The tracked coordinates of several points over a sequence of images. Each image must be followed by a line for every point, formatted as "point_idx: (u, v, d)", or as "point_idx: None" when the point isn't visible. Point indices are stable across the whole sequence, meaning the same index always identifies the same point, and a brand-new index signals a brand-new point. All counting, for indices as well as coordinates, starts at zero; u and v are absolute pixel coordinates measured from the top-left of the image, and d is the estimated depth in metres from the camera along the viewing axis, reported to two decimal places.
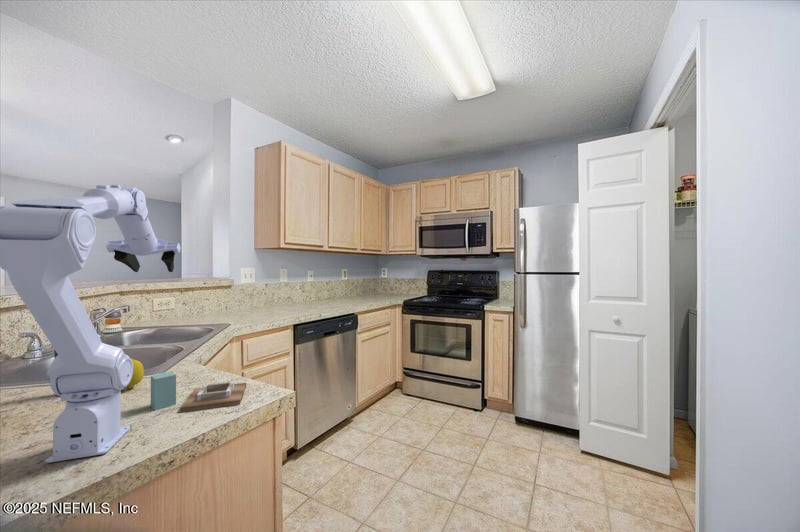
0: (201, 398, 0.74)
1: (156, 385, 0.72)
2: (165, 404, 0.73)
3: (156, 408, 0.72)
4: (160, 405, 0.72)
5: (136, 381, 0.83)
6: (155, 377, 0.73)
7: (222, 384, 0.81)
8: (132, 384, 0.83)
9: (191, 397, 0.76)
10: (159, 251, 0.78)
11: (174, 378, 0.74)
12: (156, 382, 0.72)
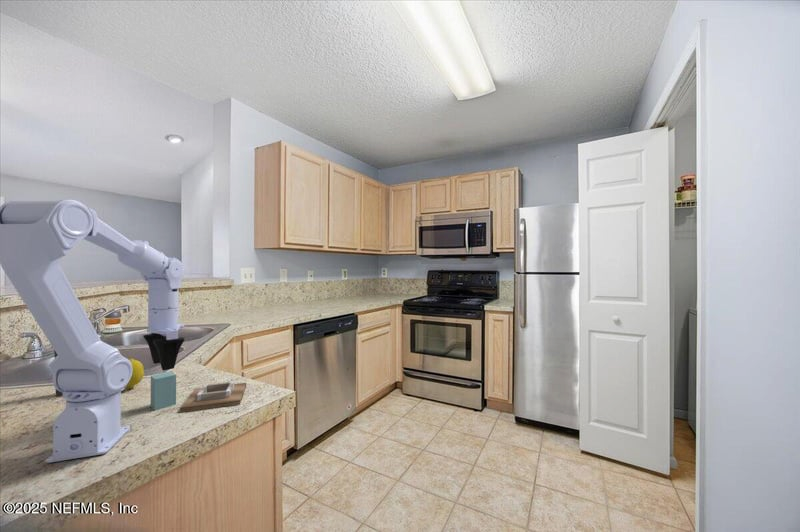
0: (201, 398, 0.74)
1: (156, 385, 0.72)
2: (165, 404, 0.73)
3: (156, 408, 0.72)
4: (160, 405, 0.72)
5: (136, 381, 0.83)
6: (155, 377, 0.73)
7: (222, 384, 0.81)
8: (132, 384, 0.83)
9: (191, 397, 0.76)
10: (157, 331, 0.71)
11: (174, 378, 0.74)
12: (156, 382, 0.72)
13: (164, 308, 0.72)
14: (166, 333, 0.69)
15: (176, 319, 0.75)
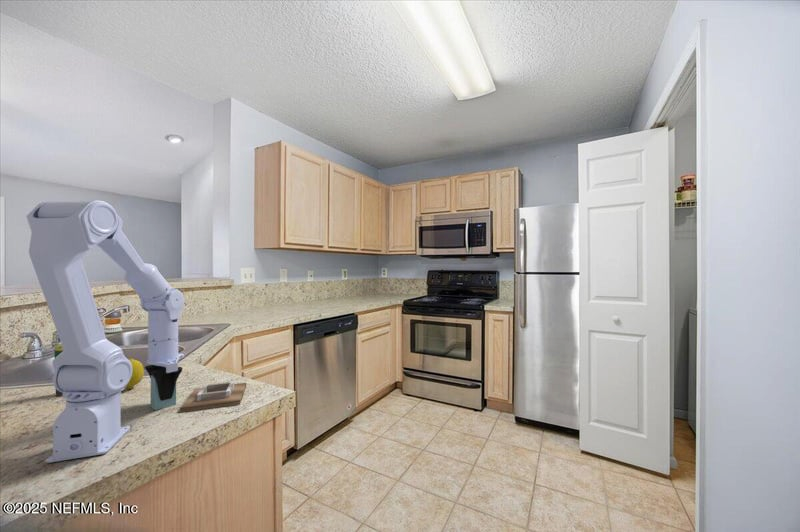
0: (201, 398, 0.74)
1: (156, 385, 0.72)
2: (165, 404, 0.73)
3: (156, 408, 0.72)
4: (160, 405, 0.72)
5: (136, 381, 0.83)
6: None
7: (222, 384, 0.81)
8: (132, 384, 0.83)
9: (191, 397, 0.76)
10: (157, 363, 0.70)
11: None
12: None
13: (164, 339, 0.72)
14: (166, 366, 0.69)
15: (176, 349, 0.75)
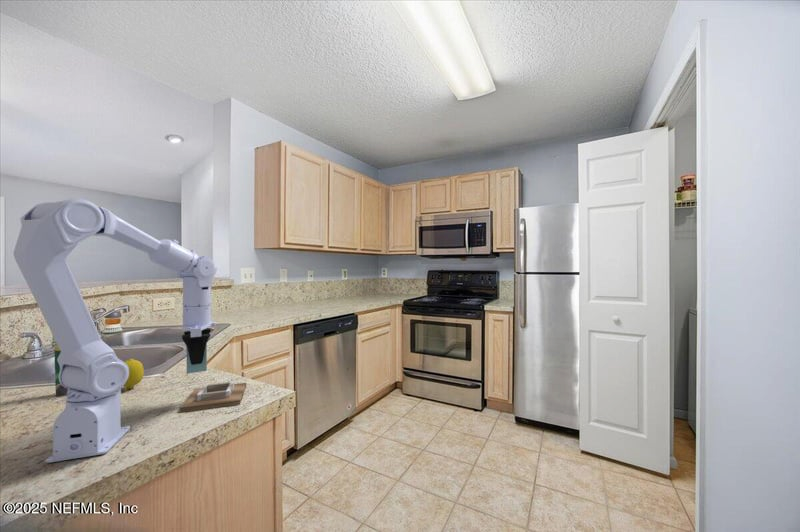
0: (201, 398, 0.74)
1: (187, 349, 0.74)
2: (196, 369, 0.75)
3: (187, 372, 0.74)
4: (191, 369, 0.74)
5: (136, 381, 0.83)
6: None
7: (222, 384, 0.81)
8: (132, 384, 0.83)
9: (191, 397, 0.76)
10: (186, 328, 0.73)
11: None
12: None
13: (194, 305, 0.74)
14: (190, 330, 0.70)
15: (207, 317, 0.76)
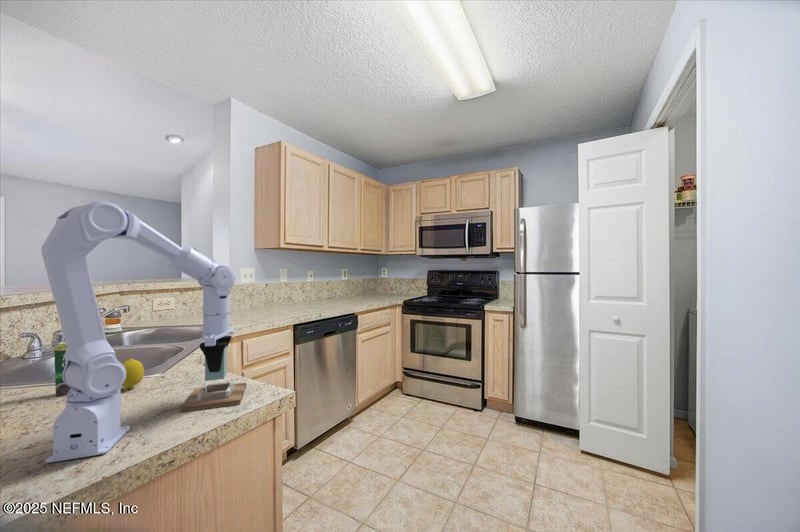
0: (201, 398, 0.74)
1: None
2: (214, 377, 0.76)
3: (206, 379, 0.75)
4: (209, 377, 0.76)
5: (136, 381, 0.83)
6: None
7: (222, 384, 0.81)
8: (132, 384, 0.83)
9: (191, 397, 0.76)
10: (204, 336, 0.74)
11: None
12: None
13: (212, 314, 0.75)
14: (205, 339, 0.71)
15: (224, 325, 0.77)
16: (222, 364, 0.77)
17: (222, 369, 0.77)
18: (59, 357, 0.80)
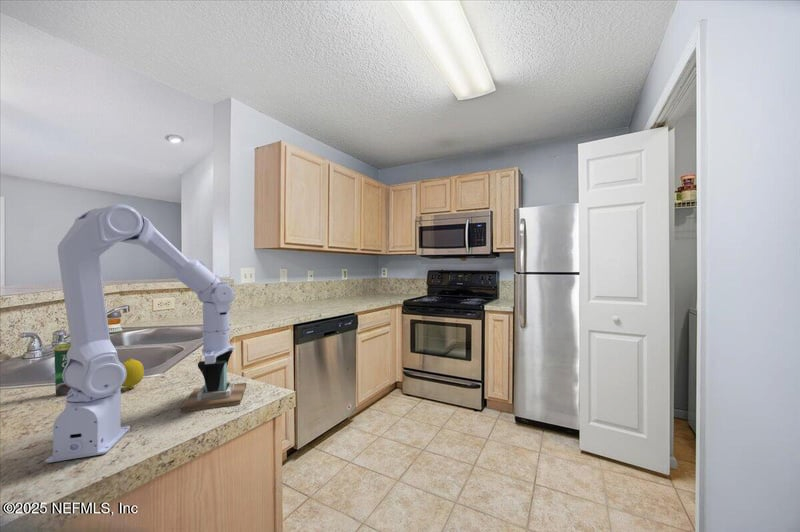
0: (201, 398, 0.74)
1: None
2: None
3: None
4: None
5: (136, 381, 0.83)
6: None
7: None
8: (132, 384, 0.83)
9: (191, 397, 0.76)
10: (204, 353, 0.74)
11: (222, 370, 0.77)
12: None
13: (212, 331, 0.75)
14: (205, 357, 0.71)
15: (224, 342, 0.77)
16: (222, 381, 0.77)
17: (222, 386, 0.77)
18: (59, 357, 0.80)
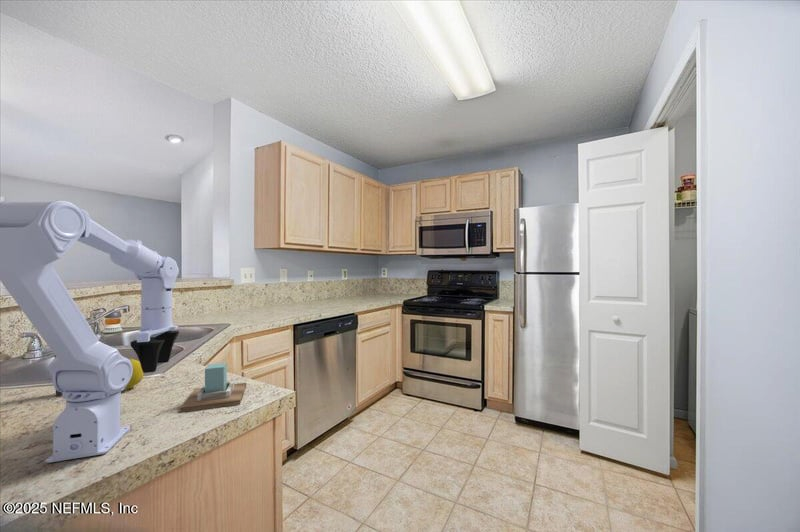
0: (201, 398, 0.74)
1: (206, 375, 0.75)
2: None
3: None
4: None
5: (136, 381, 0.83)
6: (208, 367, 0.77)
7: None
8: (132, 384, 0.83)
9: (191, 397, 0.76)
10: (139, 331, 0.69)
11: (222, 370, 0.77)
12: (206, 372, 0.75)
13: (158, 308, 0.71)
14: None
15: (164, 320, 0.72)
16: (222, 381, 0.77)
17: (222, 386, 0.77)
18: None
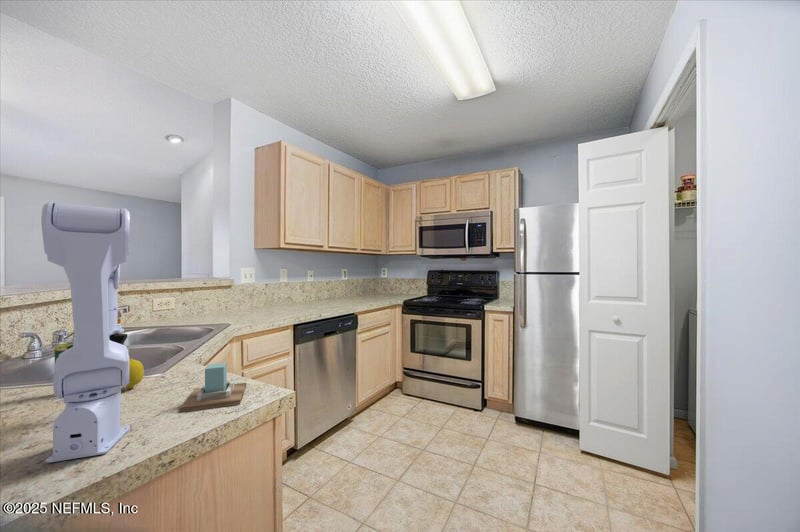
0: (201, 398, 0.74)
1: (206, 375, 0.75)
2: None
3: None
4: None
5: (136, 381, 0.83)
6: (208, 367, 0.77)
7: None
8: (132, 384, 0.83)
9: (191, 397, 0.76)
10: None
11: (222, 370, 0.77)
12: (206, 372, 0.75)
13: (111, 309, 0.68)
14: None
15: None
16: (222, 381, 0.77)
17: (222, 386, 0.77)
18: None
